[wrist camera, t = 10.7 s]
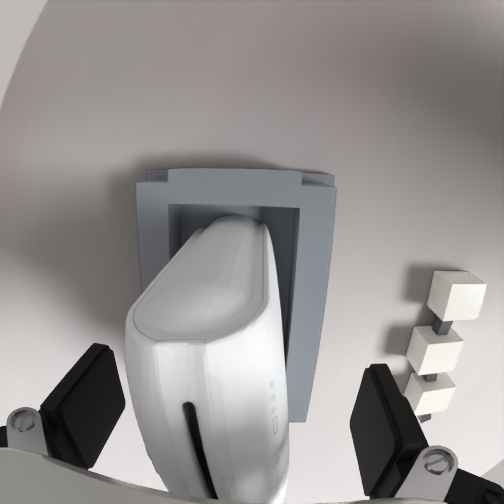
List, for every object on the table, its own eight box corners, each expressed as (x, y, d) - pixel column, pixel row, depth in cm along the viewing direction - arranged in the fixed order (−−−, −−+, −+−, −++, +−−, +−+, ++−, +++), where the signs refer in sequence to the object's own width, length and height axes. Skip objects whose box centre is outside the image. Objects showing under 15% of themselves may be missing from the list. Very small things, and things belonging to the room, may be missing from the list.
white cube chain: (472, 271, 18) (491, 284, 16) (425, 411, 21) (435, 429, 19) (426, 270, 18) (444, 284, 16) (384, 416, 21) (392, 437, 19)
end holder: (331, 173, 17) (345, 175, 14) (305, 397, 21) (310, 428, 18) (150, 168, 17) (128, 170, 14) (167, 388, 21) (155, 417, 18)
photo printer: (282, 373, 19) (292, 553, 7) (215, 375, 20) (178, 548, 8) (273, 210, 17) (296, 335, 5) (192, 217, 17) (56, 334, 5)
